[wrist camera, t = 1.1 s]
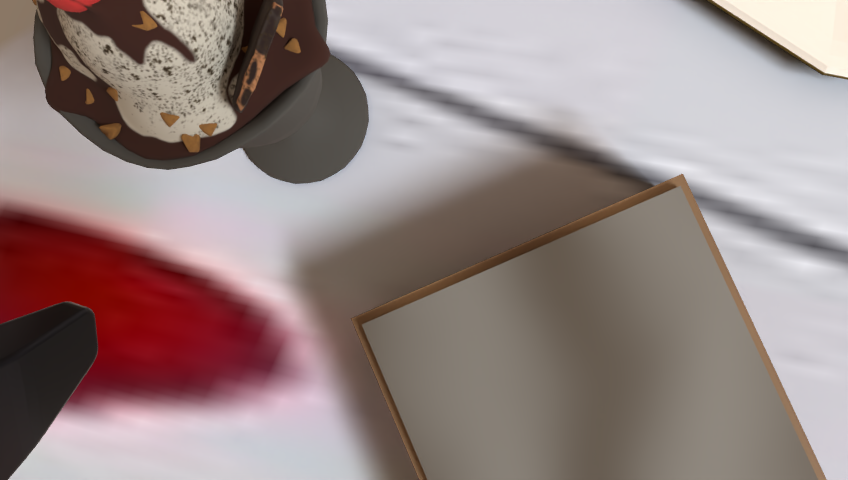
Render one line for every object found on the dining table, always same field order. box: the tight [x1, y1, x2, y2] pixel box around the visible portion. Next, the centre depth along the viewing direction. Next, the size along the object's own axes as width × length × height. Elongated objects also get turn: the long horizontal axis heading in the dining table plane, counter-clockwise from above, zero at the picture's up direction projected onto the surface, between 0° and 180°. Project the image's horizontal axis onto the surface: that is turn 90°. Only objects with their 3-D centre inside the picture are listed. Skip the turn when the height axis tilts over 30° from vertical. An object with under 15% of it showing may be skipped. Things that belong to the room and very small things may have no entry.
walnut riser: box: [351, 174, 826, 480], centre depth 22 cm, size 11×11×4 cm
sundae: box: [32, 0, 369, 184], centre depth 17 cm, size 7×7×15 cm
